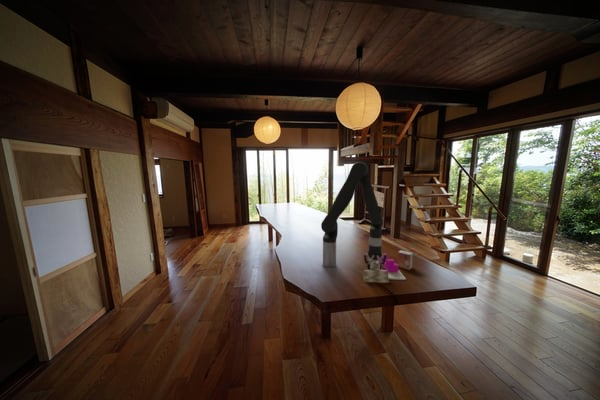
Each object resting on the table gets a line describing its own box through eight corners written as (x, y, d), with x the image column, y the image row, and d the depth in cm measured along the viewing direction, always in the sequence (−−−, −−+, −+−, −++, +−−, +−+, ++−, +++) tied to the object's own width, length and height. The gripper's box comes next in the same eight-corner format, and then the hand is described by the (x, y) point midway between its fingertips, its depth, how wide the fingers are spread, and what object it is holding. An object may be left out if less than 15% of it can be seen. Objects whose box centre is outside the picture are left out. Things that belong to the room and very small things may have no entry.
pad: (385, 279, 125) (385, 277, 125) (380, 270, 136) (380, 269, 136) (405, 280, 124) (406, 278, 124) (399, 271, 135) (399, 270, 135)
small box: (397, 266, 142) (397, 252, 141) (399, 264, 146) (400, 249, 145) (409, 270, 137) (410, 254, 136) (412, 267, 141) (413, 252, 140)
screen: (364, 281, 123) (364, 272, 122) (363, 279, 125) (363, 269, 125) (389, 282, 121) (389, 273, 120) (387, 280, 124) (387, 270, 123)
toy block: (398, 272, 132) (398, 260, 131) (388, 272, 132) (388, 260, 132) (389, 263, 147) (389, 253, 146) (380, 263, 147) (380, 253, 147)
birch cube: (370, 272, 129) (370, 263, 128) (368, 268, 134) (368, 260, 134) (379, 273, 128) (380, 264, 128) (377, 269, 134) (377, 260, 133)
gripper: (364, 245, 126) (363, 271, 128) (389, 246, 125) (387, 273, 127) (362, 241, 134) (361, 266, 136) (385, 242, 132) (384, 267, 134)
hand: (374, 269), depth 131 cm, fingers closed on birch cube, 5 cm apart
